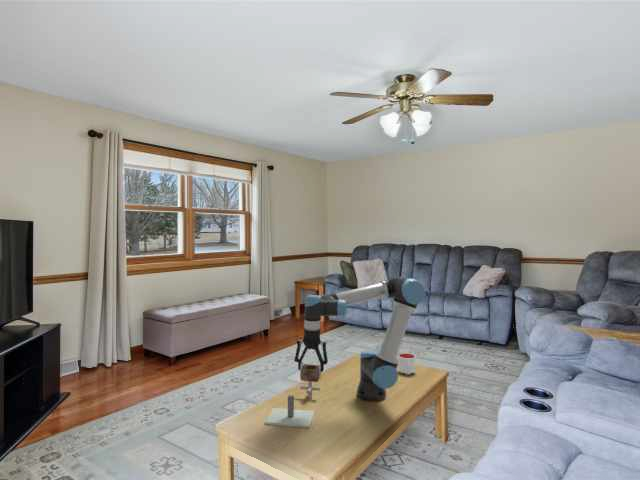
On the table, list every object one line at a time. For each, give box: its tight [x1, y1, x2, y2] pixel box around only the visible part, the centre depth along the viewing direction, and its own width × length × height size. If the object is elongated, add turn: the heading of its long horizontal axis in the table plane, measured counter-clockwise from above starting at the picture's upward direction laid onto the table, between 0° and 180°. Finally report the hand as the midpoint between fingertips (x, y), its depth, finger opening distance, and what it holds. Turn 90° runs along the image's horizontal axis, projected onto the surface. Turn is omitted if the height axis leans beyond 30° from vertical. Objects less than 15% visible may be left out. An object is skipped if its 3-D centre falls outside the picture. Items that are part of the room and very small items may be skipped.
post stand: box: [264, 394, 316, 429], centre depth 173 cm, size 20×14×10 cm
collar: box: [300, 363, 320, 383], centre depth 177 cm, size 8×8×5 cm
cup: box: [397, 352, 416, 375], centre depth 232 cm, size 10×10×10 cm
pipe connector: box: [300, 381, 321, 399], centre depth 195 cm, size 10×10×10 cm
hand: (310, 377), depth 177 cm, fingers closed on collar, 8 cm apart
